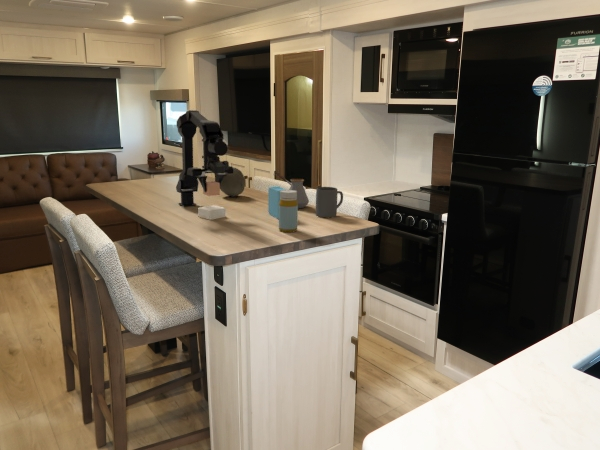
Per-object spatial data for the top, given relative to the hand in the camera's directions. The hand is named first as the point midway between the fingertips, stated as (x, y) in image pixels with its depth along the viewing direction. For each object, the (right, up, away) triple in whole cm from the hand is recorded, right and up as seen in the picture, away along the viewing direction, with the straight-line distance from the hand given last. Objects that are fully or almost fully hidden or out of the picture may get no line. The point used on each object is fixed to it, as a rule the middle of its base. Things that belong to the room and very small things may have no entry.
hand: (211, 191), depth 195 cm
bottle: (+32, -16, -17) cm, 40 cm away
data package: (+27, -10, +6) cm, 30 cm away
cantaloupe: (+1, +1, +48) cm, 48 cm away
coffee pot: (+32, -5, +29) cm, 43 cm away
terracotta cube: (0, -1, 0) cm, 1 cm away
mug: (+50, -10, +10) cm, 52 cm away
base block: (0, -11, +3) cm, 11 cm away
